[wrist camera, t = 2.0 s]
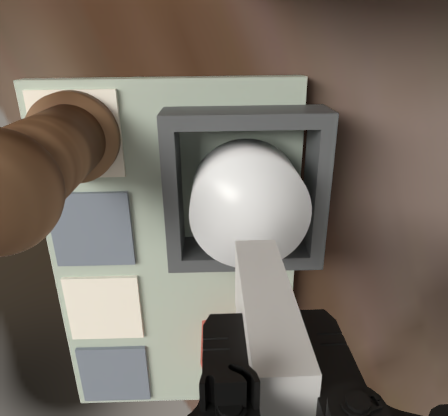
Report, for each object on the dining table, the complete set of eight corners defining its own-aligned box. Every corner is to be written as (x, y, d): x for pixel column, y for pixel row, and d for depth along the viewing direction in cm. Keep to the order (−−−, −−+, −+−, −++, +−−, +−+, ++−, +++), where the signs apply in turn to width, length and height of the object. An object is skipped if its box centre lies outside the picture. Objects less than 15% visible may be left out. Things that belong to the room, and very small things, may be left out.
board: (320, 74, 23) (342, 81, 19) (294, 384, 32) (306, 431, 28) (23, 78, 22) (-17, 86, 19) (85, 390, 32) (67, 438, 28)
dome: (301, 137, 21) (316, 154, 18) (294, 236, 24) (307, 267, 20) (190, 139, 21) (185, 156, 18) (194, 238, 24) (191, 269, 20)
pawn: (115, 89, 21) (24, 136, 11) (125, 177, 23) (55, 287, 13) (22, 90, 21) (-160, 139, 11) (39, 178, 23) (-100, 290, 13)
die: (257, 311, 28) (265, 357, 24) (265, 354, 29) (274, 404, 25) (201, 320, 28) (200, 368, 24) (212, 362, 29) (212, 414, 25)
